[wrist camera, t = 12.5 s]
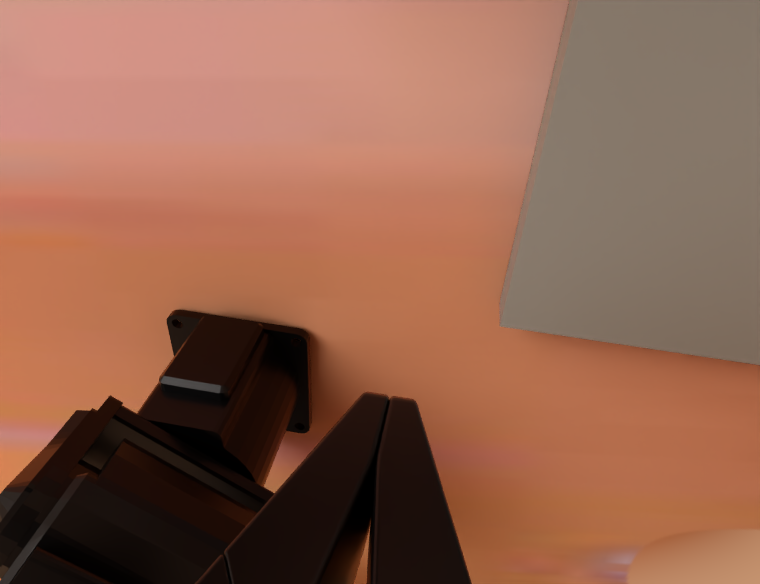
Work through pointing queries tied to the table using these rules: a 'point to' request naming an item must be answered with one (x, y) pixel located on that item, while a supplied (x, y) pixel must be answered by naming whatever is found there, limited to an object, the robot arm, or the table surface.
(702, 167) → the base plate
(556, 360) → the table surface
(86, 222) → the table surface
